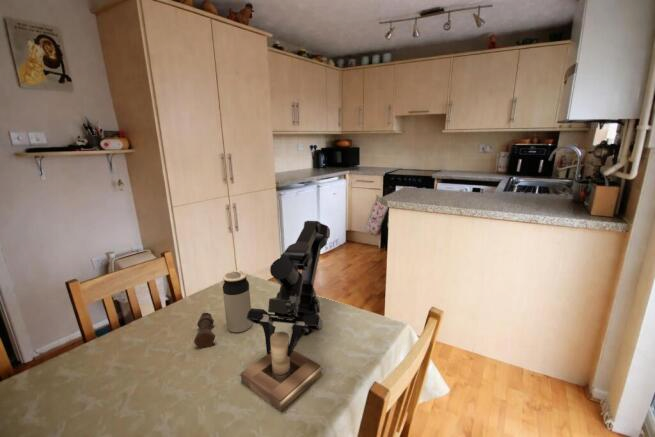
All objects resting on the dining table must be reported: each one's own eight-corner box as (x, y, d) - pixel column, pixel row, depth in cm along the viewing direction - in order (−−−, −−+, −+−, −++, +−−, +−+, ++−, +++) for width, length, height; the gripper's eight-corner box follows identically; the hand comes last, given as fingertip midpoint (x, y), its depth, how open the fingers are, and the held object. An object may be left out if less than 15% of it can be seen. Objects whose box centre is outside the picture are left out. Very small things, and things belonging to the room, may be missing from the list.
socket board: (281, 352, 88) (281, 342, 87) (322, 375, 79) (322, 365, 78) (239, 382, 77) (238, 372, 76) (281, 413, 68) (281, 402, 67)
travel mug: (229, 336, 96) (223, 282, 92) (225, 323, 103) (219, 273, 98) (255, 328, 99) (250, 277, 95) (249, 316, 106) (244, 268, 102)
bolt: (209, 325, 105) (208, 351, 91) (194, 321, 103) (191, 347, 89) (217, 310, 105) (217, 334, 91) (202, 306, 103) (200, 329, 89)
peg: (277, 370, 81) (274, 330, 78) (293, 373, 80) (291, 332, 77) (269, 383, 77) (266, 341, 74) (286, 386, 76) (284, 344, 73)
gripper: (246, 279, 78) (228, 345, 70) (318, 285, 74) (308, 355, 66) (261, 293, 87) (247, 353, 79) (326, 298, 84) (317, 361, 76)
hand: (278, 355), depth 75 cm, fingers open, 5 cm apart
